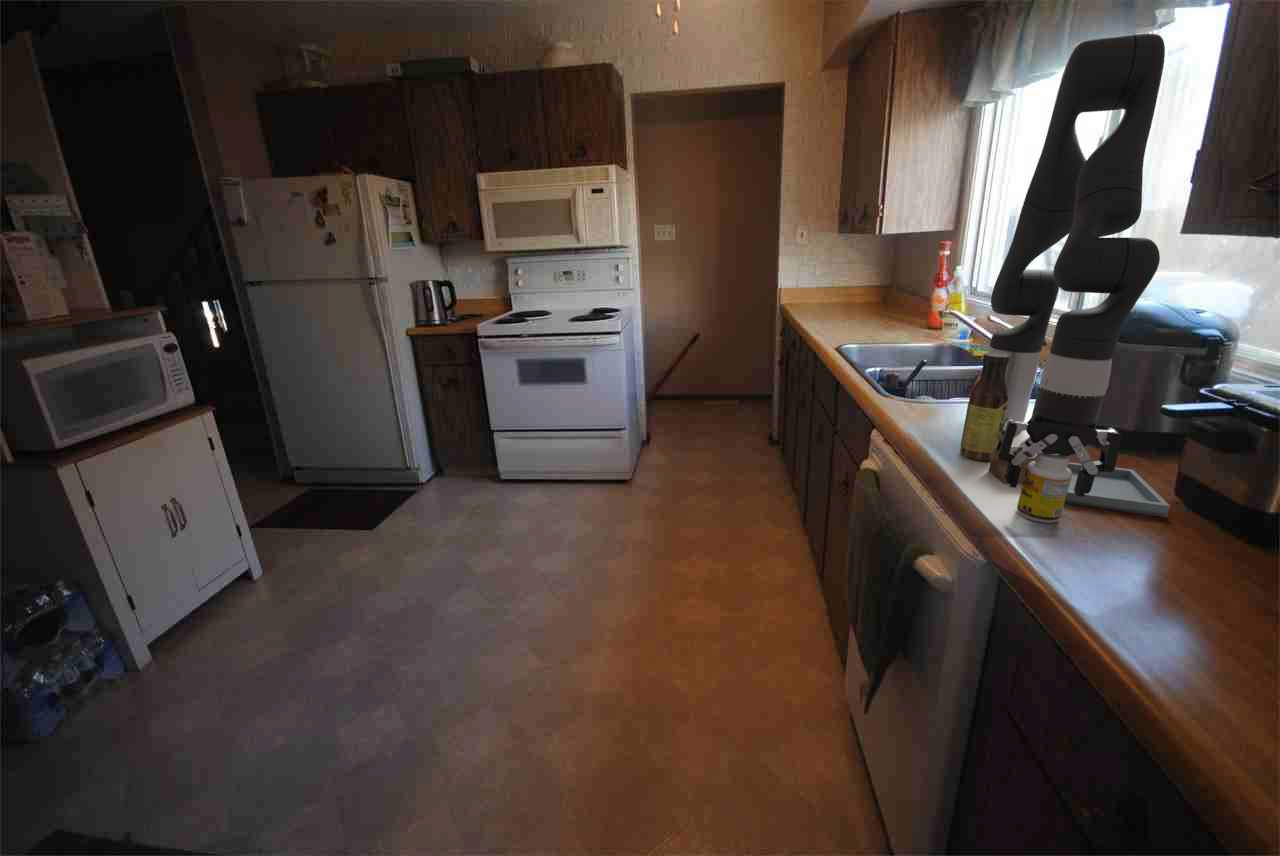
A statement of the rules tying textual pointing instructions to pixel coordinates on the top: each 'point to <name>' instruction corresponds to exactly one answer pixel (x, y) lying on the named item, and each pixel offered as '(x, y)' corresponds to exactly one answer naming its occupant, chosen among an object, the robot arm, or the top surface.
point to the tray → (1118, 493)
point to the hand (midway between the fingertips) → (1044, 490)
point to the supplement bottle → (1045, 488)
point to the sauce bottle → (986, 409)
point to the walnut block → (999, 467)
